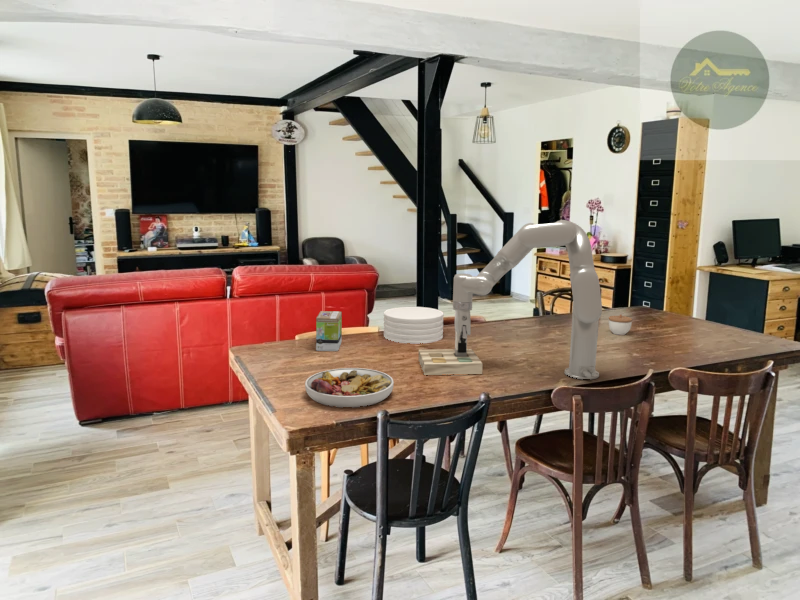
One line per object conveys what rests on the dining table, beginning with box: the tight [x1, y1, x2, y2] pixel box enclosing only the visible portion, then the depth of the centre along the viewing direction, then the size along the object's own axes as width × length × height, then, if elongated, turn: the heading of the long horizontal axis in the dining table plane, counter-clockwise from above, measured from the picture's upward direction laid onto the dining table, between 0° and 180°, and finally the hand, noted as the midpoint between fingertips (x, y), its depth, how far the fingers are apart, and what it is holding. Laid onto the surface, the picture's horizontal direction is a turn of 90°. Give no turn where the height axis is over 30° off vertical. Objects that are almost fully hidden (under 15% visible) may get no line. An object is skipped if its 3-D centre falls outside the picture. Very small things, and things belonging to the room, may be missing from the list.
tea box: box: [315, 310, 343, 352], centre depth 263 cm, size 15×10×15 cm
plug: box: [454, 330, 468, 357], centre depth 237 cm, size 4×4×10 cm
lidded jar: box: [608, 314, 633, 336], centre depth 291 cm, size 11×11×9 cm
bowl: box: [304, 367, 394, 408], centre depth 205 cm, size 30×30×8 cm
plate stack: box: [383, 306, 444, 345], centre depth 283 cm, size 28×28×12 cm
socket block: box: [418, 348, 483, 376], centre depth 235 cm, size 20×22×5 cm
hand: (460, 350), depth 237 cm, fingers closed on plug, 4 cm apart
